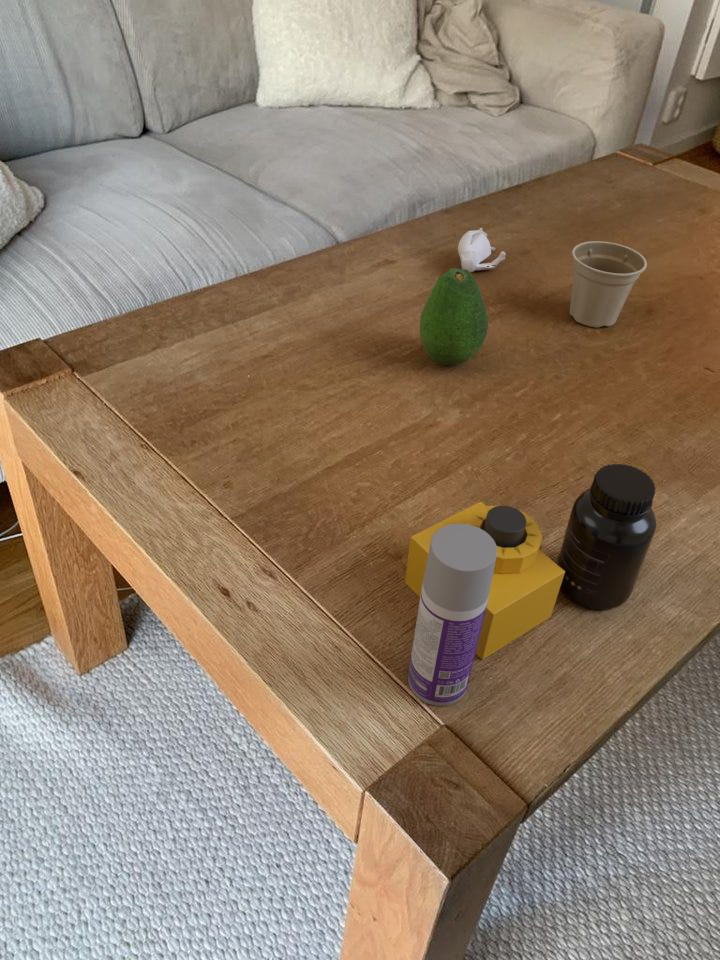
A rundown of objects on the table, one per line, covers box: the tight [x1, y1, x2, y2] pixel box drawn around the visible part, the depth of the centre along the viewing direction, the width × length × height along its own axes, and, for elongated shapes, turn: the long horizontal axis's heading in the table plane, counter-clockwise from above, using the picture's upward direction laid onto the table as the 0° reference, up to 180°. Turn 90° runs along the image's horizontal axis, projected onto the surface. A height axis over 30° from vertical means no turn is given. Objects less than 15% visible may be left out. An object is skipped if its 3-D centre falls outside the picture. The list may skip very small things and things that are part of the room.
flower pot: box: [569, 240, 648, 329], centre depth 107 cm, size 9×9×9 cm
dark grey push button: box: [484, 505, 526, 548], centre depth 66 cm, size 3×3×2 cm
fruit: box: [419, 267, 489, 366], centre depth 95 cm, size 8×8×12 cm
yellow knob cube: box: [404, 501, 565, 661], centre depth 68 cm, size 10×8×8 cm
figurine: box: [457, 227, 506, 273], centre depth 118 cm, size 6×6×12 cm
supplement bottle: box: [556, 463, 657, 611], centre depth 69 cm, size 7×7×12 cm
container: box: [407, 524, 497, 707], centre depth 59 cm, size 5×5×15 cm
